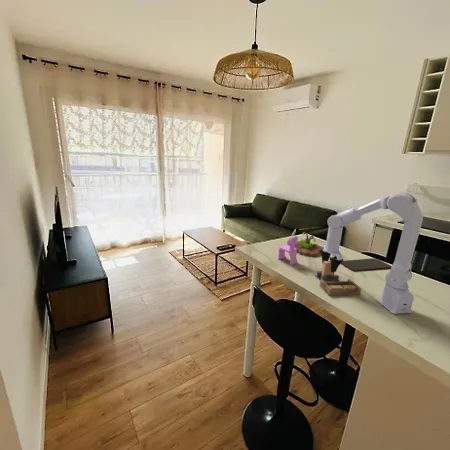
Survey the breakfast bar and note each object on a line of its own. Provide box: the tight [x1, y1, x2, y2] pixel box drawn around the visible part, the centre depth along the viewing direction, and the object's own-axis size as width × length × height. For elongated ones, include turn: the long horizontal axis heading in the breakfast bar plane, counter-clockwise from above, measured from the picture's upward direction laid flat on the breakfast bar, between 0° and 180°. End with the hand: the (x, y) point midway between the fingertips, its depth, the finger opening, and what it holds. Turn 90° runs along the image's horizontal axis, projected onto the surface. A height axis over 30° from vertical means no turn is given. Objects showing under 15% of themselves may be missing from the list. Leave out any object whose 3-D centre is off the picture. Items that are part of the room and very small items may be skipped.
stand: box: [314, 270, 340, 282], centre depth 118 cm, size 6×9×2 cm, turn 97°
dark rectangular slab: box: [340, 257, 392, 273], centre depth 135 cm, size 12×2×25 cm
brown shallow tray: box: [319, 278, 362, 296], centre depth 108 cm, size 8×14×3 cm, turn 97°
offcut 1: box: [329, 285, 343, 290], centre depth 106 cm, size 2×5×3 cm, turn 97°
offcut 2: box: [342, 285, 356, 290], centre depth 107 cm, size 2×5×3 cm, turn 97°
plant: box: [295, 231, 323, 258], centre depth 152 cm, size 20×20×11 cm
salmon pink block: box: [321, 260, 335, 275], centre depth 117 cm, size 2×5×8 cm, turn 97°
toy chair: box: [277, 235, 299, 266], centre depth 134 cm, size 8×9×15 cm
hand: (328, 268), depth 117 cm, fingers open, 7 cm apart
